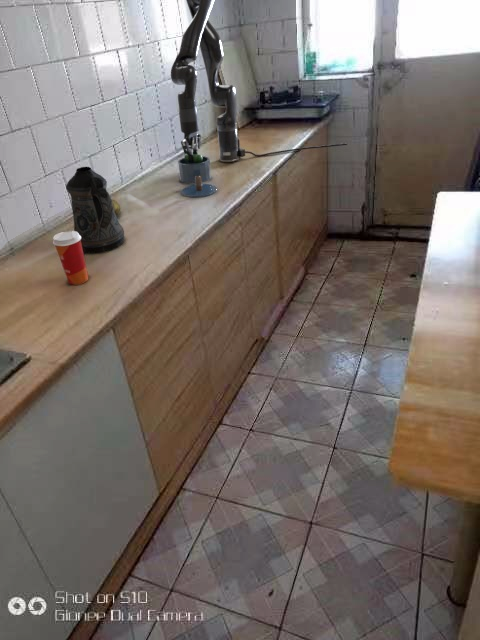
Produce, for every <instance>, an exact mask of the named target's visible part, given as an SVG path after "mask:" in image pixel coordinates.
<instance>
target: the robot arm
mask: <svg viewBox="0 0 480 640" xmlns="http://www.w3.org/2000/svg"><path fill="white" fill-rule="evenodd" d="M185 1H186V4H187V7H188V10H189V13H190V16H191V21H190V22H189V24H188V25H187V27H186V28H185V30H184V32H183V33H182V37H181V42H180V47H179V51H178V54H177V55H176V58H175V59H174V61H173V63H172V66H171V68H170V79H171V81H172V83H173V84H174V85H177V86H184V91H180V92H178V93H177V105H178V116H179V124H180V132H181V133H183V140H181V141H180V145H181V148H182V151H183V153H184V154H185V155H186V154H188V160H189V163H194V157H193V154H198V155H199V153H198V152H199V150H200V149H201V140H202V134H201V133H200V134H199V133H198V132H199V131H200V125H199V117H198V114H199V113H198V109H197V102H196V101H197V100H196V91H197V83H198V73H197V70H196V68H195V66H193V65H192V64H191V63H193V62H195V61H197V58H198V54H199V49H200V53H201V58H202V60H203V65H204V69H205V72H206V77H207V78H206V79H207V84H208V91H209V96H210V101H211V103H212V105H213V106H214V107H216V108H226V109H225V112H224V113H222V114H220V115H217V117H216V128H217V141H218V151H219V152H218V153H219V161H220V162H221V163H234V162H237V161H240V160H241V158H244V157H246V154H250V155H252V156H254V157H265V156H269V155H274V154H281V153H288V152H293V151H294V152H295V151H300V150H301V151H302V150H303V151H304V150H312V149H321V148H330V147H340V146H348V142H344V143H336V144H335V143H334V144H325V145H316V146H315V145H314V146H306V147H297V148H291V149H284V150H278V151H270V152H267V153H263V154H256V153H254V152H252V151H249V150H247V151H246V149H244V148H241V144H240V138H239V137H238V126H237V114H238V112H237V91H236V87H235V86H234V85H233V84H220V83H219V71H220V68H221V67H222V66H221V65H222V63H223V59H224V49H223V44H222V38H221V36H220V34H219V33H218V30H216V28H215V27H214V26H213V25H212V23H211V22H210V21H209V17H210V15H211V12H212V9H213V7H214V3H215V0H185Z"/></svg>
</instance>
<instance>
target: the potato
mask: <svg viewBox="0 0 480 640" xmlns="http://www.w3.org/2000/svg"><path fill="white" fill-rule="evenodd" d="M112 203H113V209H114V212H115V214H116V216H118V215H120V213H121V205H120V204H119V202H118V201H117V200H115V199H112Z"/></svg>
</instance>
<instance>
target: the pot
mask: <svg viewBox="0 0 480 640" xmlns="http://www.w3.org/2000/svg"><path fill="white" fill-rule="evenodd" d="M201 156H202V158H203V160H202V162H200V163H188V162H186V161H185V160H184V157H182V158H179V159H177V168H178V176H179V181H180V182H181V183H184V184H196V182H195V176H201V183H204V182H208V181H209V180H211V179H212V171H211V160H210V158H209V156H206V155H201Z"/></svg>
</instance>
